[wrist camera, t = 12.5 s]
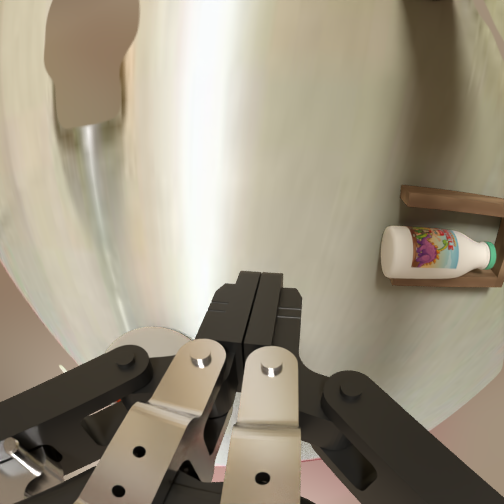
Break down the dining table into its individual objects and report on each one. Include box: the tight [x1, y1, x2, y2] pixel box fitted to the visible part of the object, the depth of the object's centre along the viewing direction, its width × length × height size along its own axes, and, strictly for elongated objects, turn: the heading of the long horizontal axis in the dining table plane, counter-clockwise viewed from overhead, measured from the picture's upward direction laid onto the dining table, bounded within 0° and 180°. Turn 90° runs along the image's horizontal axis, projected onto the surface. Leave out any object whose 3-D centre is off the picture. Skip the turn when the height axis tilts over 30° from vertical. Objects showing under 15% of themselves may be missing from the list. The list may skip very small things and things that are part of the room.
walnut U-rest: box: [390, 185, 504, 287], centre depth 41 cm, size 15×23×4 cm, turn 92°
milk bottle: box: [381, 226, 496, 279], centre depth 41 cm, size 8×8×20 cm
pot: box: [105, 327, 192, 405], centre depth 57 cm, size 24×24×18 cm
